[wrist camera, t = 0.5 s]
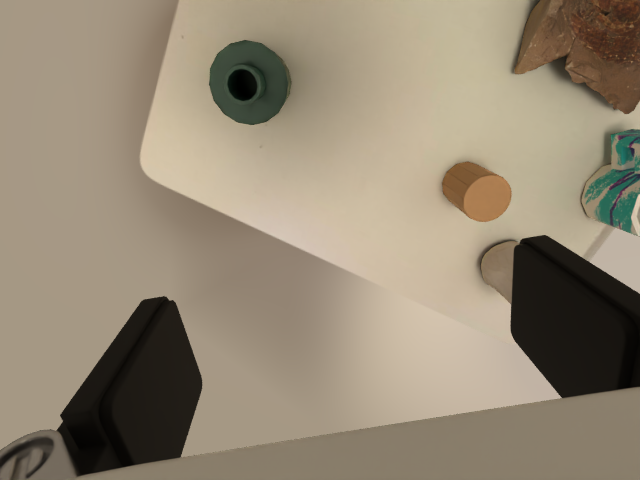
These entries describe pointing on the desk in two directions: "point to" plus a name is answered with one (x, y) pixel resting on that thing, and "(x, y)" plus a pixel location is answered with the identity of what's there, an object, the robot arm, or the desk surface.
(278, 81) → the bottle
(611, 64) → the fossil
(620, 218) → the mug
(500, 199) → the grooved wooden cylinder
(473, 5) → the desk surface
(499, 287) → the figurine
